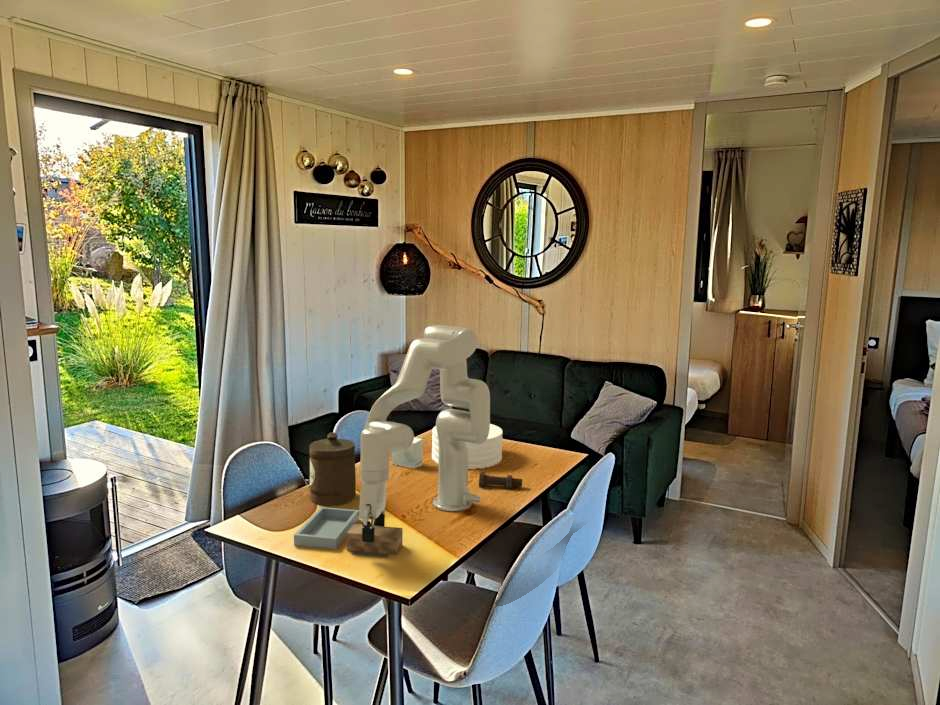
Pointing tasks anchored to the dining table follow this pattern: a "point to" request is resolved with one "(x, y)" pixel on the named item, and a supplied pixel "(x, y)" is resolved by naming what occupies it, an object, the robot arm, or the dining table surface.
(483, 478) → the bolt
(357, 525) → the brown rectangular block
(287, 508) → the dining table surface
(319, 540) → the tray
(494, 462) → the plate stack
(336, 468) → the wooden container
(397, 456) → the skincare box
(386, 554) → the stud base
